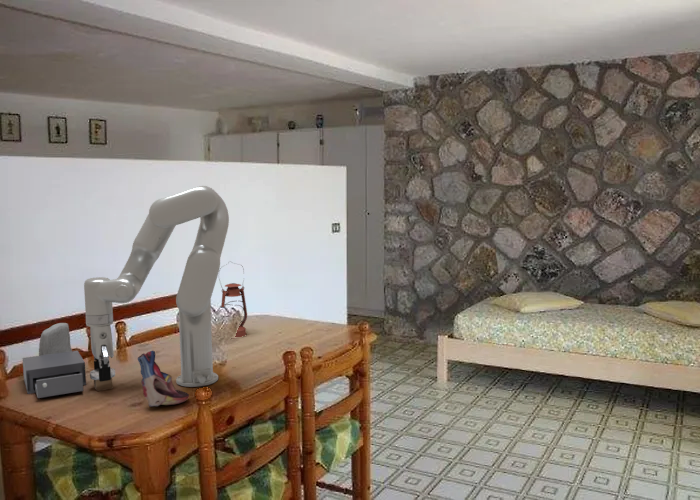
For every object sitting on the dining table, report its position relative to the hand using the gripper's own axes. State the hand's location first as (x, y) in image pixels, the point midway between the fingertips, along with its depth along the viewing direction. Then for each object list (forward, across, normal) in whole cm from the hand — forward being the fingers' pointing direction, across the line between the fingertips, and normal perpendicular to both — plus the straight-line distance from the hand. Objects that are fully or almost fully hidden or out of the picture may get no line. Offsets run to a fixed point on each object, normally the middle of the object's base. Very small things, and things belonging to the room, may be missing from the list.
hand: (102, 376), depth 192 cm
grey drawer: (+2, +4, +12) cm, 13 cm away
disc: (0, 0, 0) cm, 0 cm away
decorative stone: (+4, +31, +10) cm, 33 cm away
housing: (+3, +14, +12) cm, 19 cm away
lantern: (+4, +41, -56) cm, 70 cm away
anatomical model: (+4, -25, -12) cm, 28 cm away
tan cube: (+3, 0, 0) cm, 3 cm away
